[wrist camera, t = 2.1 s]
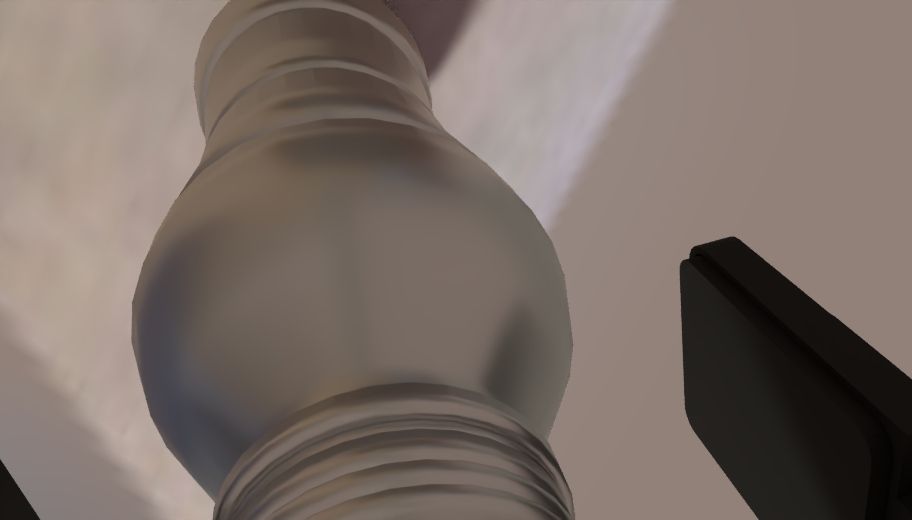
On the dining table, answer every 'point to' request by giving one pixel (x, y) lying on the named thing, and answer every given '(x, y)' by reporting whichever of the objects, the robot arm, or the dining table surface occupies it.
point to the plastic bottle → (348, 290)
